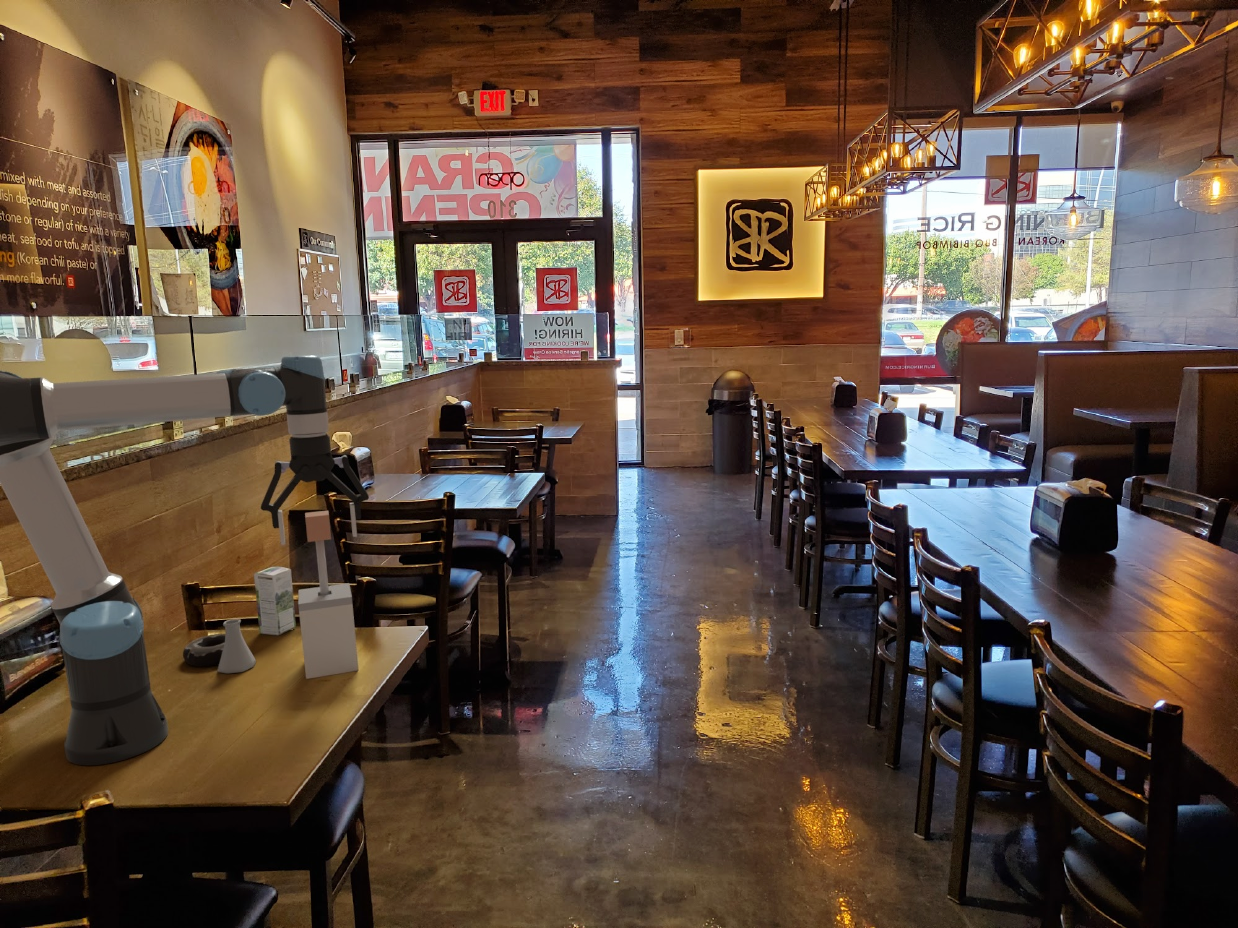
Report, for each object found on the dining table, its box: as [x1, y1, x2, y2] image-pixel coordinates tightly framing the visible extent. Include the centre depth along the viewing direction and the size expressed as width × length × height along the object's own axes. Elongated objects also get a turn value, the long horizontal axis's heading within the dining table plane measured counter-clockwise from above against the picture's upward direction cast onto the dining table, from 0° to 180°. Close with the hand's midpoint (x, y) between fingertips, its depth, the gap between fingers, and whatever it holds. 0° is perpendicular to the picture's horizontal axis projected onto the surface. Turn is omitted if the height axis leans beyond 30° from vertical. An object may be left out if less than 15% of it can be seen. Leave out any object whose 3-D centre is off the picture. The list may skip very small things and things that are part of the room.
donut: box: [182, 633, 226, 668], centre depth 182 cm, size 12×12×4 cm
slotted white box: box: [297, 582, 359, 680], centre depth 174 cm, size 10×10×16 cm
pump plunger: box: [304, 510, 332, 596], centre depth 172 cm, size 4×4×20 cm
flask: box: [217, 618, 257, 674], centre depth 176 cm, size 7×7×10 cm
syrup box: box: [253, 566, 297, 636], centre depth 196 cm, size 6×6×14 cm
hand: (319, 539), depth 171 cm, fingers open, 13 cm apart
